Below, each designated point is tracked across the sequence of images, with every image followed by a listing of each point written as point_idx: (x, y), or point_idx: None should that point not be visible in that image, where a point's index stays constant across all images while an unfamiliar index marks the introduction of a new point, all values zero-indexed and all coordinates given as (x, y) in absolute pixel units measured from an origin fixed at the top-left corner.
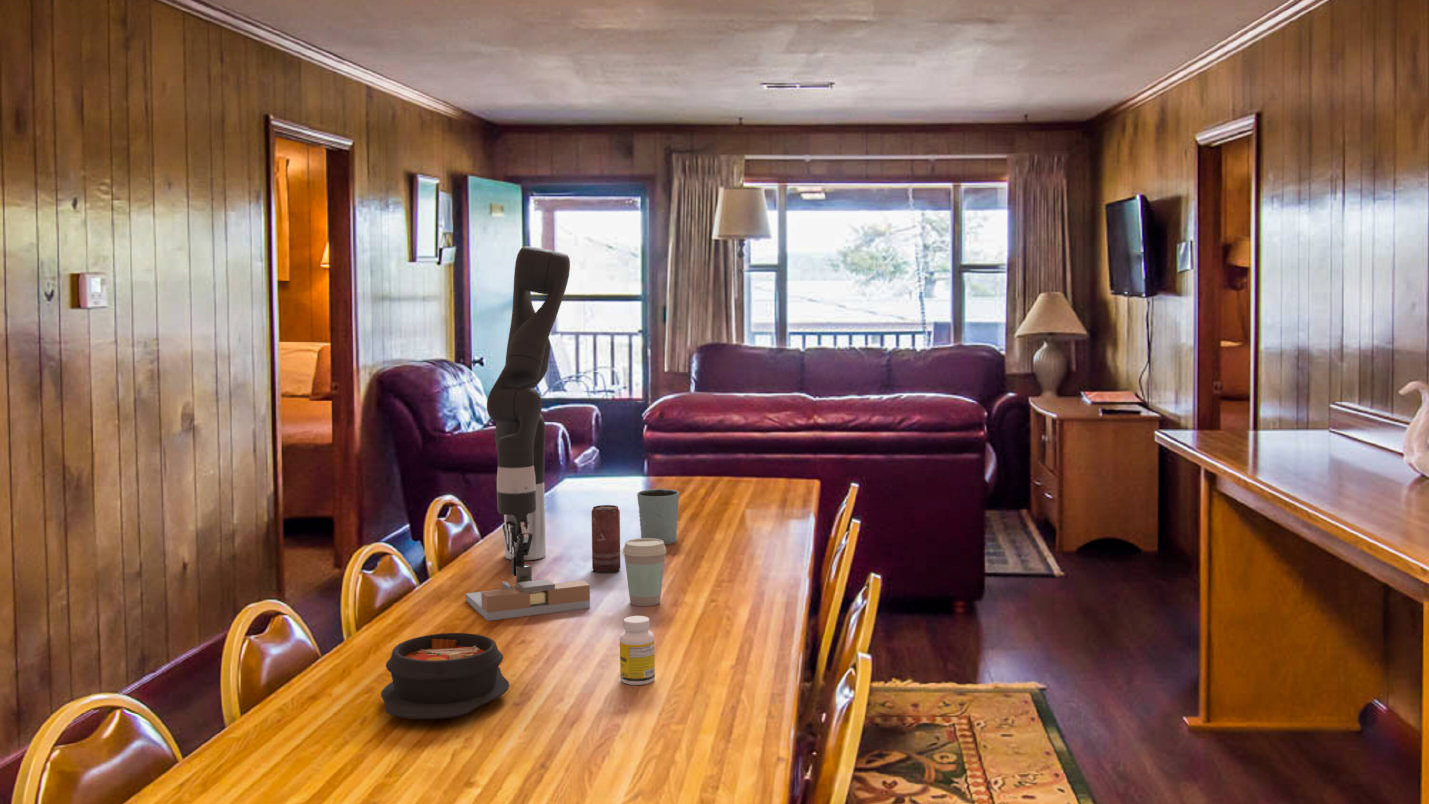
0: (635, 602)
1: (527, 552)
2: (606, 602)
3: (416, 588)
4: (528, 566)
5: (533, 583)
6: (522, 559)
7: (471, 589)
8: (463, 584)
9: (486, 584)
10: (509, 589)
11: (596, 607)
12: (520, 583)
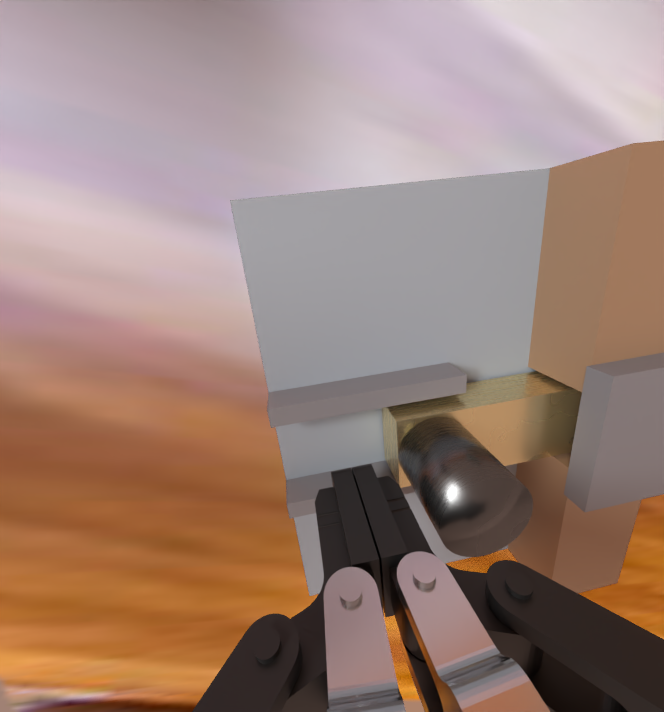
0: None
1: (557, 590)
2: (565, 47)
3: (90, 696)
4: (511, 496)
5: (645, 450)
6: (430, 551)
7: (138, 563)
8: (43, 589)
9: (54, 519)
10: (571, 520)
11: (610, 134)
12: (607, 500)
